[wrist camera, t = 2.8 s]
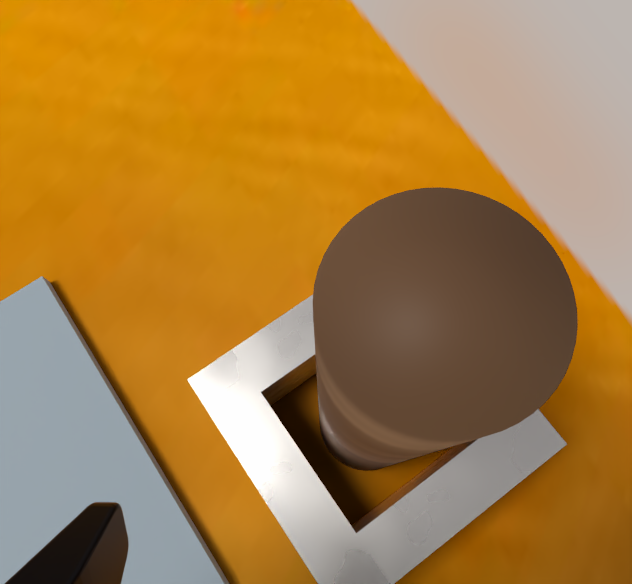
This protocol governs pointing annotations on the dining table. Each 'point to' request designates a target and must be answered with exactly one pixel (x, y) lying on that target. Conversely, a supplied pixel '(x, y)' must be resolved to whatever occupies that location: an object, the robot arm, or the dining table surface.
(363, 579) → the collar
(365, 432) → the walnut rod
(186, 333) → the dining table surface
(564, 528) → the dining table surface
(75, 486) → the rubber mat
